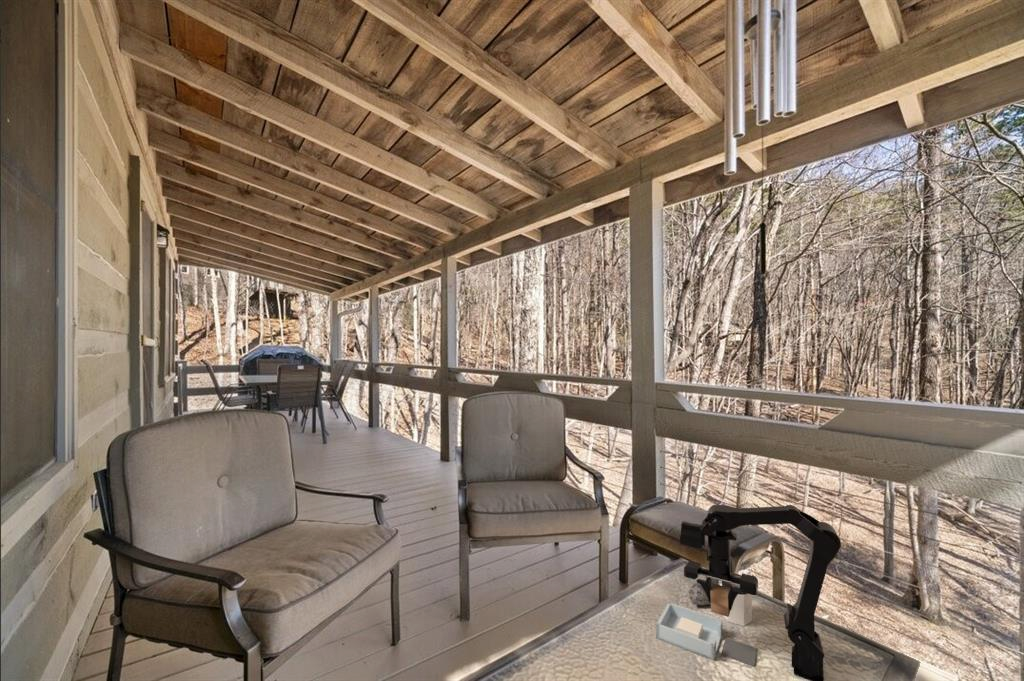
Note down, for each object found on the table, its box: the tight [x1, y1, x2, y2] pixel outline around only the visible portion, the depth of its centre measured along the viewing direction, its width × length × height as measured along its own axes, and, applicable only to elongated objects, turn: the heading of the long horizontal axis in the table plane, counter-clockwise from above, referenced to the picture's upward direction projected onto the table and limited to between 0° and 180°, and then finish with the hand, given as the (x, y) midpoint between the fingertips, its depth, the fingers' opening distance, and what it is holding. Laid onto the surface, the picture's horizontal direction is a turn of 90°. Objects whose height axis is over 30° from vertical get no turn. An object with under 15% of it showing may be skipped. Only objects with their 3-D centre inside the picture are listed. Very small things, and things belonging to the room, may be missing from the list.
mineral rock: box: [688, 578, 720, 606], centre depth 145 cm, size 13×11×10 cm
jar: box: [719, 572, 753, 627], centre depth 136 cm, size 9×8×12 cm
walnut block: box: [710, 583, 730, 617], centre depth 123 cm, size 4×4×6 cm
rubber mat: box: [720, 636, 758, 668], centre depth 120 cm, size 8×8×1 cm
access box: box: [655, 602, 723, 661], centre depth 127 cm, size 16×14×4 cm
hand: (721, 606), depth 123 cm, fingers closed on walnut block, 4 cm apart
